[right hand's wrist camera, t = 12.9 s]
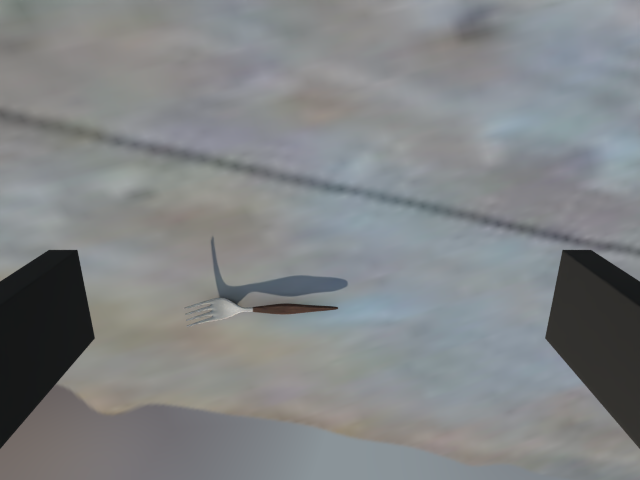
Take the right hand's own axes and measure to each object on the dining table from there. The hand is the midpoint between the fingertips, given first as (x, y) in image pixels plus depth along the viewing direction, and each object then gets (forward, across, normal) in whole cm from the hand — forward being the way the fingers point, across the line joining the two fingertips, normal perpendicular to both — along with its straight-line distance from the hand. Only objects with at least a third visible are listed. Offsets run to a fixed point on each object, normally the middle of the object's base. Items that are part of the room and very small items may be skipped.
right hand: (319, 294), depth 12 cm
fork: (+32, +6, +18) cm, 38 cm away
